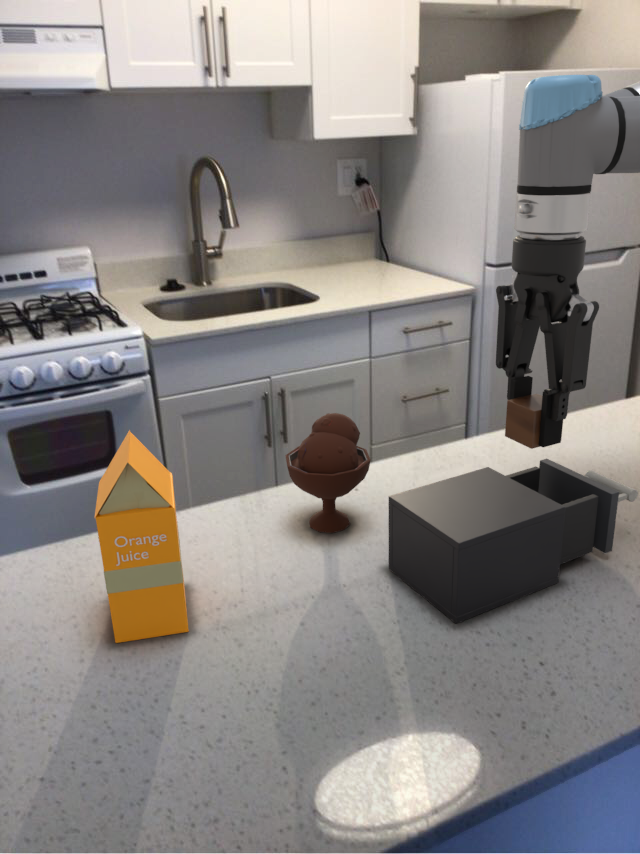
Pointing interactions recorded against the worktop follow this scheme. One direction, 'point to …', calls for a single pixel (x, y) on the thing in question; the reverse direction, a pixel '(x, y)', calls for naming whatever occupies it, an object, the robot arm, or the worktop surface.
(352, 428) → the ice cream bowl
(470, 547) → the dark grey cuboid
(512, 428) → the block
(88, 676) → the worktop surface
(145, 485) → the orange juice
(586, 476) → the dark grey drawer
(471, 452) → the worktop surface
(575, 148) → the robot arm
